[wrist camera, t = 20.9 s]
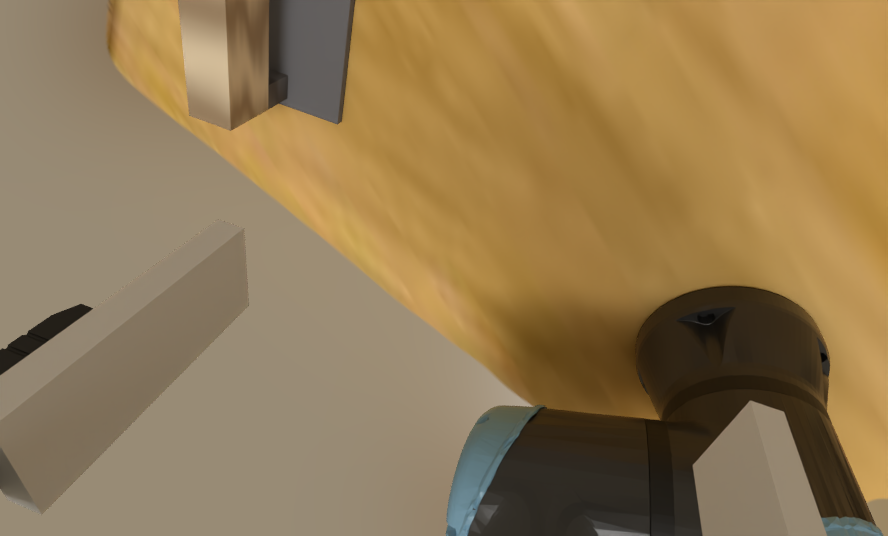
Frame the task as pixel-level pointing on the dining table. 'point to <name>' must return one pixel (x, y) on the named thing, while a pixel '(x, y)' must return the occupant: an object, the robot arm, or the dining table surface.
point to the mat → (312, 53)
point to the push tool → (228, 61)
